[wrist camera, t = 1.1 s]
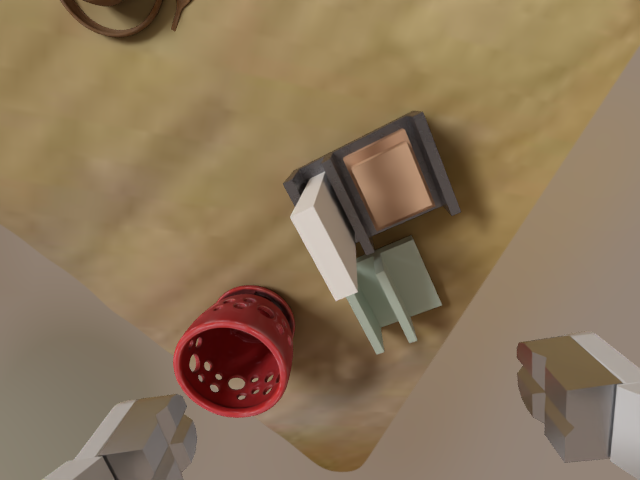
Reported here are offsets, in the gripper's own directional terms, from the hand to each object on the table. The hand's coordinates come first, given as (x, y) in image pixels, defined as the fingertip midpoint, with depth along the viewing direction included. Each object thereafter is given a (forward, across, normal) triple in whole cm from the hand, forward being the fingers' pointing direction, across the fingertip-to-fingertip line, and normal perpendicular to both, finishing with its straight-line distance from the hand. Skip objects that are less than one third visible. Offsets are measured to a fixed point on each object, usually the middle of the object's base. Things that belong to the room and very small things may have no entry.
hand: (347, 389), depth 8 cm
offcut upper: (+31, -6, +2) cm, 32 cm away
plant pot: (+37, +14, +18) cm, 43 cm away
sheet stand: (+35, -5, +15) cm, 39 cm away
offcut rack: (+35, -4, +2) cm, 35 cm away
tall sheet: (+34, 0, +3) cm, 34 cm away
